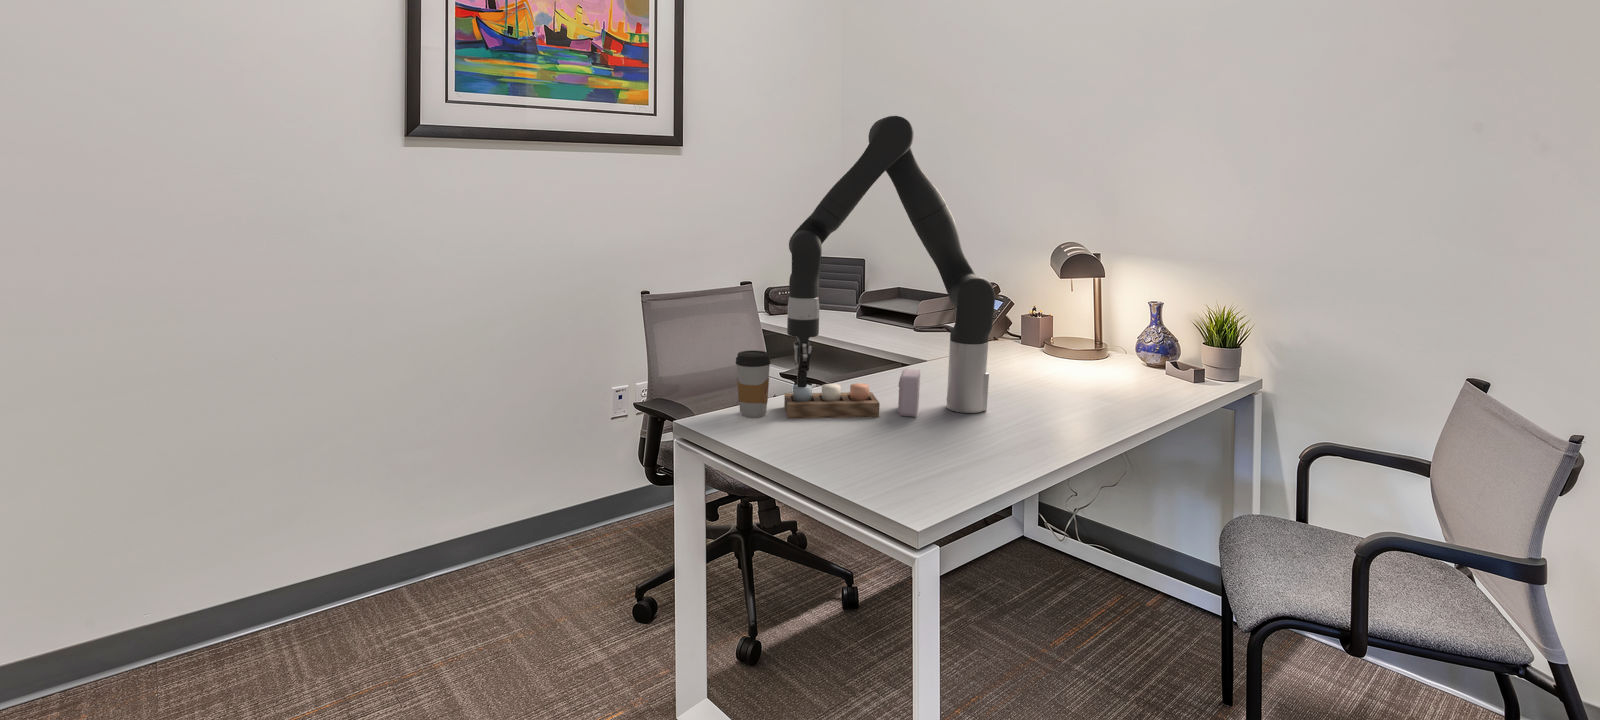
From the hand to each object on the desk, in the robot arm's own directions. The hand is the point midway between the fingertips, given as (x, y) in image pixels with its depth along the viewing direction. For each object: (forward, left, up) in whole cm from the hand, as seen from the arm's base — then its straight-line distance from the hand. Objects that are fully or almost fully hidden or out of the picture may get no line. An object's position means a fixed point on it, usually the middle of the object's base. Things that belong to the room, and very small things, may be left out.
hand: (801, 386), depth 190 cm
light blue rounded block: (0, 0, -3) cm, 3 cm away
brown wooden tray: (-7, 0, -7) cm, 10 cm away
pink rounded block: (-14, 0, -3) cm, 15 cm away
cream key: (-7, 0, -3) cm, 8 cm away
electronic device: (-26, +1, -7) cm, 27 cm away
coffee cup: (+12, +1, -7) cm, 14 cm away
